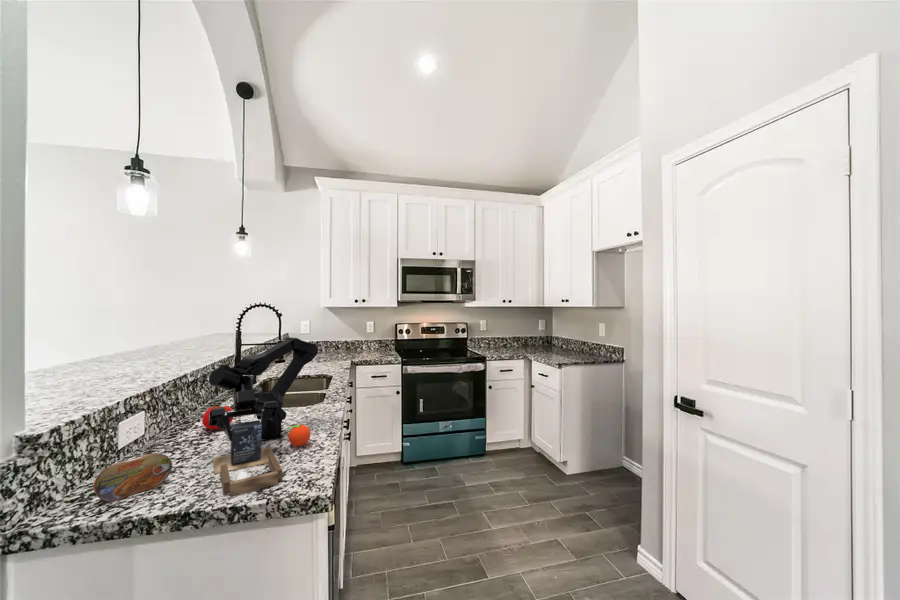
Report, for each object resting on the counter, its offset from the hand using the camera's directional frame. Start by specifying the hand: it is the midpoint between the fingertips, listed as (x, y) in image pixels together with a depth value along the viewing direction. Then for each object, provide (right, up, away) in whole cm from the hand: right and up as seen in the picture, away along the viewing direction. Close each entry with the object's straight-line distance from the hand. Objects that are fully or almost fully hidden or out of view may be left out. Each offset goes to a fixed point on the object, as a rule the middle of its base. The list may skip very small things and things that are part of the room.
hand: (246, 438), depth 108 cm
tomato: (-27, -7, +29) cm, 40 cm away
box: (-1, -7, +1) cm, 7 cm away
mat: (-2, -7, +2) cm, 8 cm away
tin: (-18, -7, -18) cm, 26 cm away
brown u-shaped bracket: (+7, -7, -10) cm, 14 cm away
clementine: (+10, -8, +13) cm, 18 cm away
